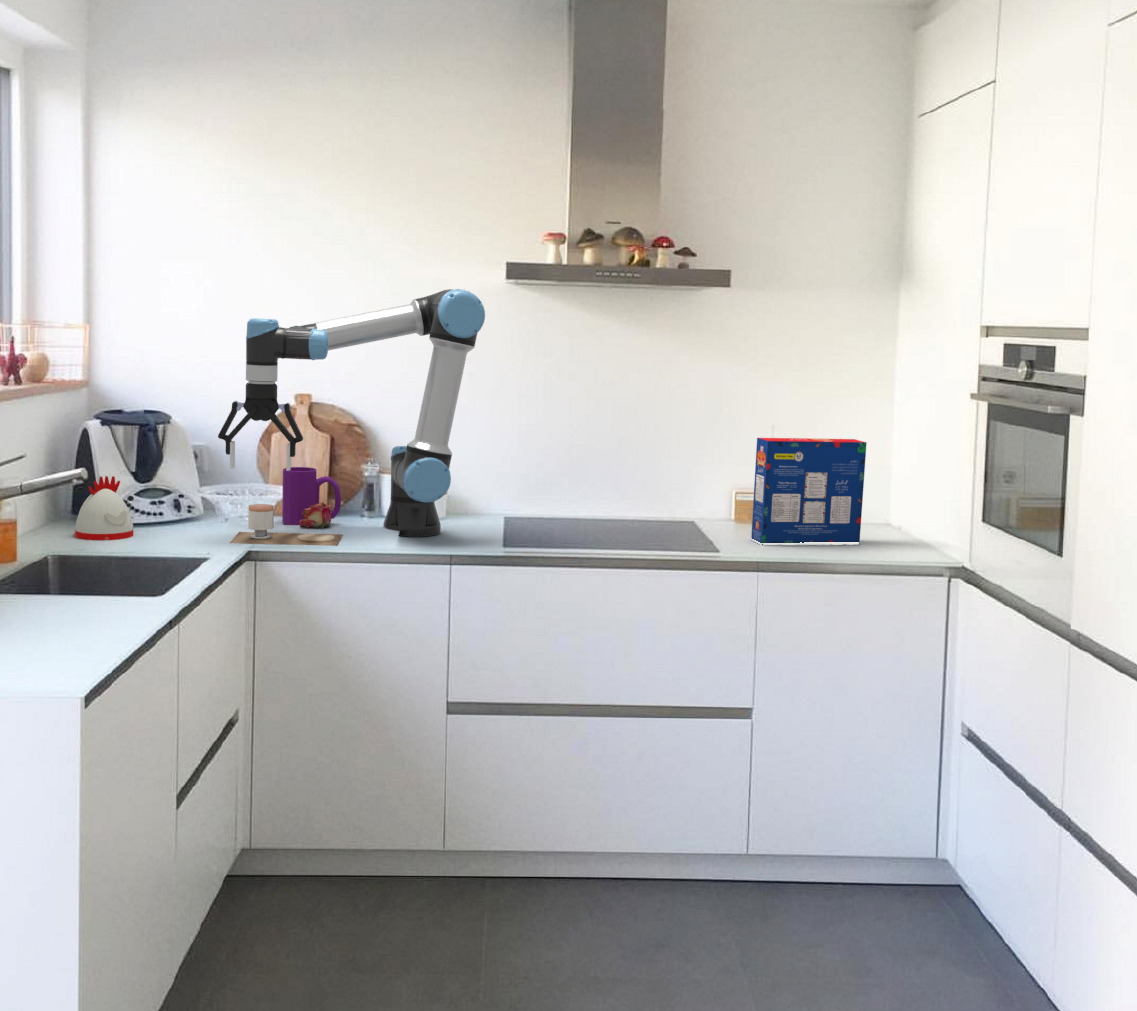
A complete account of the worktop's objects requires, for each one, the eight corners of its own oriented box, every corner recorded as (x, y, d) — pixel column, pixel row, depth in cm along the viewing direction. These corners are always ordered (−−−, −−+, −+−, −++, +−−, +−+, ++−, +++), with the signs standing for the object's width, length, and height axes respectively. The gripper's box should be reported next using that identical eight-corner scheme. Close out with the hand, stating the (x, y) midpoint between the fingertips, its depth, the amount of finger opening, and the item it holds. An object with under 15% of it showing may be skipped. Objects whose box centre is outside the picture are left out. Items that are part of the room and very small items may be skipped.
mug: (283, 521, 381) (284, 466, 379) (341, 522, 383) (342, 467, 381) (280, 526, 372) (281, 470, 370) (340, 527, 374) (340, 472, 372)
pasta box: (847, 540, 385) (853, 439, 381) (859, 545, 378) (866, 442, 374) (751, 540, 379) (757, 437, 375) (761, 545, 371) (767, 440, 367)
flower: (346, 526, 366) (335, 499, 369) (326, 523, 358) (315, 496, 360) (318, 543, 370) (307, 517, 372) (298, 541, 361) (287, 514, 363)
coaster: (336, 536, 352) (336, 534, 352) (332, 542, 343) (332, 540, 343) (299, 535, 351) (299, 533, 351) (295, 541, 342) (295, 539, 342)
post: (272, 536, 349) (272, 508, 348) (269, 539, 344) (270, 511, 343) (252, 535, 348) (252, 508, 347) (249, 539, 343) (249, 511, 342)
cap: (274, 526, 349) (275, 504, 348) (271, 530, 343) (271, 508, 342) (250, 525, 348) (250, 503, 347) (246, 529, 342) (247, 507, 342)
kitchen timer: (143, 537, 350) (143, 477, 348) (92, 542, 340) (91, 481, 338) (115, 529, 359) (114, 471, 357) (64, 534, 349) (64, 474, 347)
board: (343, 540, 356) (343, 534, 355) (337, 551, 340) (337, 545, 340) (239, 537, 353) (239, 531, 353) (229, 549, 338) (229, 543, 337)
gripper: (315, 383, 345) (313, 469, 348) (212, 379, 343) (211, 465, 346) (311, 385, 338) (310, 472, 341) (206, 381, 335) (206, 469, 339)
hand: (260, 469), depth 343 cm, fingers open, 13 cm apart
